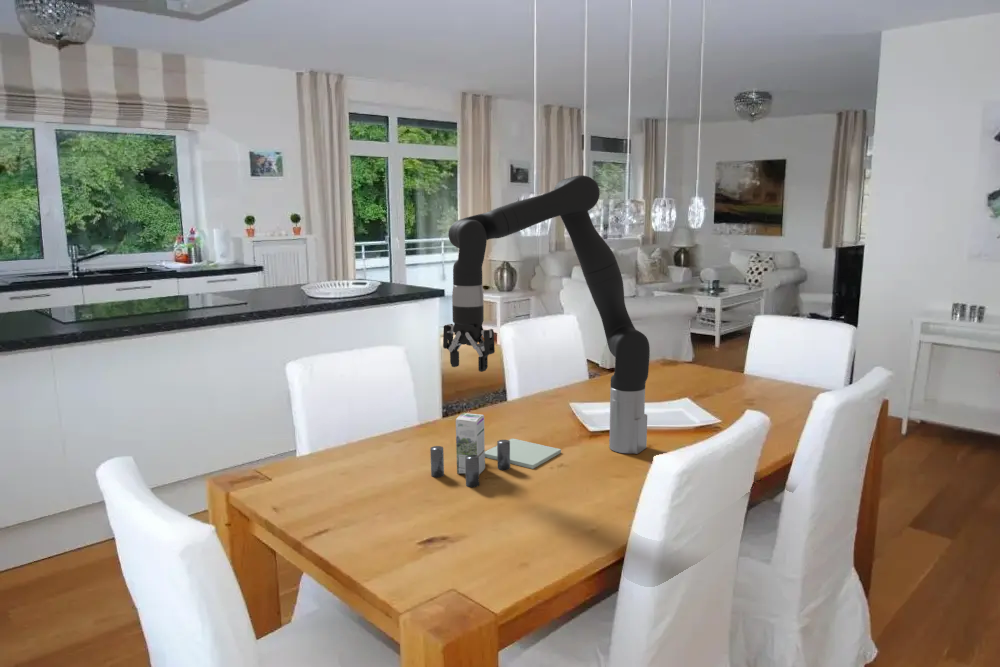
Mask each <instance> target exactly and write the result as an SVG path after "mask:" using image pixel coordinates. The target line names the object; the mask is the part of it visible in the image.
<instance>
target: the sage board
mask: <svg viewBox="0 0 1000 667" xmlns="http://www.w3.org/2000/svg"><path fill="white" fill-rule="evenodd" d="M508 440H509V441H510V465H516V466H519V467H524V468H527V469H531V470H533V469H536V468H537V467H538V466H541V465H543V464H544V463H546V462H548V461H549V460H551V459H553V458H554V457H556V456H558V455H560V454H561V453H562V449H561V448H557V447H552V446H548V445H543V444H539V443H535V442H531V441H526V440H521V439H517V438H510V439H508ZM485 458H487V459H490V460H491V459H492V460H495V461H497V445H496V446H493V447H491V448H489V449H488V450H485Z"/></svg>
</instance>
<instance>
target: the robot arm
mask: <svg viewBox="0 0 1000 667" xmlns="http://www.w3.org/2000/svg"><path fill="white" fill-rule="evenodd" d="M599 199H600V187H599V185H598V183H597V182H596V180H594V179H593V178H592V177H590V176H587V175H580V174H579V175H575V176H571V177H568V178H567V177H566V178H564V179H562V180H559V181H558V182H557V183H556V185H555V187H554V189H553V190H550V191H548V192H546V193H543V194H539V195H536V196H533V197H530V198H524V199H522V200H516V201H515V202H511V203H508V204H505V205H502V206H499V207H496V208H493V209H492V210H489V211H487V212H483V213H480V214H475V215H470V216H466V217H463V218H461V219H458V220H456V221H455V222H453V223H452V224H451V226H450V227H449V229H448V233H447V234H448V235H447V236H448V240H449V242H450V243H451V245H452V246H454V247H455V248H457V249H458V256H457V260H456V261H455V262H454V263H453V266H452V269H453V270H452V282H453V283H452V297H451V298H452V300H451V302H452V303H451V304H452V306H451V307H452V308H451V309H452V322H453V323H454V324H453V323H448V324H445V325H444V326H443V334H442V337H443V338H442V347H443V349H446V350H448V352H449V358H450V359H449V360H450V362H449V363H450V365H451V367H452V368H456V367H459V366H460V351H458V350H459V349H460V347H461V346H462V345H467V346H470V347H472V348H473V349H474V350H475V351H476V352H477V354H478V365H477V366H478V372H482V373H483V372H485V371H486V370H487V369H488V366H489V364H488V363H489V362H488V358H489V355H493V354H495V353H496V352H495V351H496V350H495V349H496V348H495V331H494V329H493V328H490V329H484V328H483V323H484V320H485V319H484V318H485V316H484V290H483V289H484V288H483V264H484V260H485V254H486V248H487V241H488V240H491V239H501V238H505V237H507V236H510V235H512V234H516V233H518V232H521V231H522V230H526V229H527V228H530V227H532V226H535V225H538V224H540V223H543V222H545V221H548V220H551V219H554V218H557V217H560V218H561V220H562V223H563V225H564V227H565V229H566V231H567V233H568V235H569V237H570V241H571V243H572V247H573V249H574V251H575V254H576V257H577V260H578V262H579V264H580V268H581V272H582V274H583V277H584V279H585V283H586V285H587V288H588V290H589V293H590V295H591V297H592V300H593V303H594V305H595V306H596V309H597V311H598V313H599V316H600V319H601V322H602V326H603V331H604V335H605V338H606V339H605V340H606V342H607V346H608V350H609V351H610V353H611V354H612V356H614V372H613V374H612V375H611V377H610V387H609V388H610V392H609V393H610V396H609V397H610V399H609V440H608V441H609V447H608V448H609V449H610V450H612V451H613V452H616V453H620V454H636V455H638V454H640V453H642V452H643V451H644V450H645V449H647V444H648V443H647V442H648V440H647V438H648V435H647V434H648V414H646V413H645V408H646V406H645V405H646V404H645V403H646V383H647V380H648V378H649V371H650V370H649V369H650V351H651V350H650V343H649V339H648V338H647V335H645V334H644V333H642V332H641V331H639V330H637V329H636V327H635V326H634V323H633V321H632V320H631V317H630V315H629V312H628V309H627V307H626V300H625V290H624V289H625V287H624V281H623V276H622V273H621V270H620V265H619V264H618V261H617V258H616V256H615V254H614V251H613V250H612V249H611V247H610V246H609V245H608V243H607V242H606V241H605V240H604V238H603V237H602V236H601V235H600V234H599V233H598V230H596V227H595V226H594V224H593V222H592V218H591V216H590V213H589V211H590V210H592V209H593V208H594V207H595V206H596V205H597V203H598V202H599Z"/></svg>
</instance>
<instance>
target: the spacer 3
mask: <svg viewBox="0 0 1000 667" xmlns="http://www.w3.org/2000/svg"><path fill="white" fill-rule="evenodd" d="M509 440H510V439H499V440H497V442H496V446H497V460H496V461H497V469H498V470H499V471H509V470H510V469H511V463H510V441H509Z"/></svg>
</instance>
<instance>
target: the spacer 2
mask: <svg viewBox="0 0 1000 667" xmlns="http://www.w3.org/2000/svg"><path fill="white" fill-rule="evenodd" d="M465 465H466V475H465V487H467V488H477V487H479V486H480V474H479V456H477V455H467V456H466V457H465Z"/></svg>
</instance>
